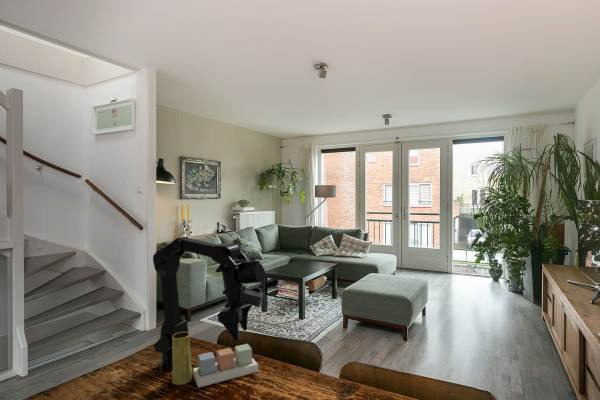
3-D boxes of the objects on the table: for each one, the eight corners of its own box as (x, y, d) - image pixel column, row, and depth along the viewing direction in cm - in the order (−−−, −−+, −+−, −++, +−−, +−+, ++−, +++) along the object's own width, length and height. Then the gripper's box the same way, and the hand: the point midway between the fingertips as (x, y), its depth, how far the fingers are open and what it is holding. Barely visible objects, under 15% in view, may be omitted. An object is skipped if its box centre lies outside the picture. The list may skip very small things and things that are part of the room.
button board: (193, 375, 112) (193, 368, 112) (249, 361, 120) (249, 354, 120) (198, 387, 105) (198, 379, 105) (258, 371, 113) (257, 364, 113)
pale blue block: (198, 370, 111) (197, 355, 111) (212, 367, 113) (211, 351, 113) (201, 376, 107) (200, 360, 107) (215, 373, 109) (215, 357, 109)
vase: (186, 386, 106) (184, 339, 105) (167, 384, 107) (166, 338, 107) (196, 376, 112) (194, 331, 111) (178, 374, 113) (177, 330, 113)
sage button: (235, 361, 116) (234, 346, 116) (247, 358, 118) (247, 343, 118) (239, 367, 112) (238, 351, 112) (252, 363, 114) (251, 348, 114)
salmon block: (217, 366, 113) (216, 350, 113) (230, 362, 115) (230, 347, 115) (220, 371, 110) (220, 356, 109) (234, 368, 112) (233, 352, 112)
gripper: (251, 287, 98) (260, 343, 97) (264, 275, 117) (272, 322, 116) (213, 293, 99) (221, 348, 98) (232, 280, 118) (240, 326, 117)
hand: (241, 335), depth 107 cm, fingers open, 9 cm apart
